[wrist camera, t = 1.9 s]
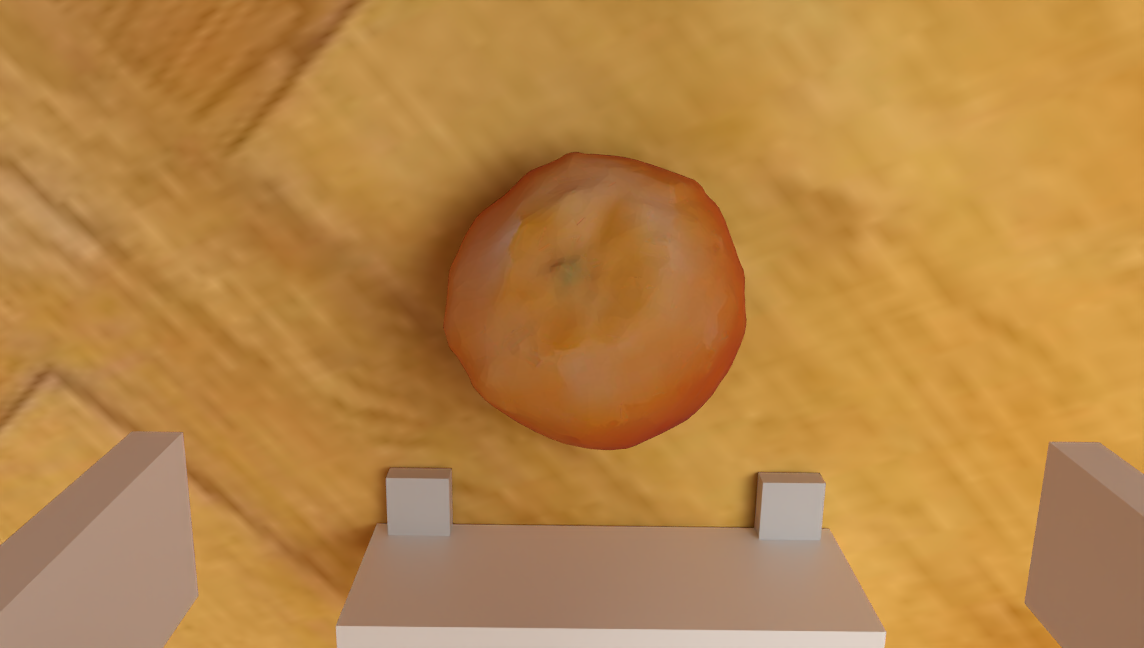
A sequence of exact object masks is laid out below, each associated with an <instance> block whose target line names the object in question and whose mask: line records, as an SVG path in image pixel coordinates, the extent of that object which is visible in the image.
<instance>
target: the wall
mask: <svg viewBox="0 0 1144 648" xmlns="http://www.w3.org/2000/svg"><path fill="white" fill-rule="evenodd" d="M825 485H826V483H825V481H824V480H823V478H822V476H821V475H820V473H775V472H758V484H757V497H756V511H755V525H754V528H722V527H638V526H554V525H470V524H453V513H452V468H390V469H389V472H388V474H387V476H386V498H387V524H386V523H377V525H376V527H375V530H374V532H373V535H372V537H371V540H370V542H369V545H368V547H367V550H366V552H365V555H364V557H363V560H362V562H361V565H360V567H359V570H358V572H357V575H356V577H355V580H354V582H353V584H352V587H351V589H350V592H349V594H348V597H347V599H346V602H345V604H344V607H343V609H342V612H341V614H340V617H339V619H338V622H337V624H336V638H337V648H884V646H885V638H886V631H885V629H884V627H883V625H882V624H881V622H880V620H879V618H878V616H877V614H876V613H875V611H874V609H873V607H872V605H871V603H870V602H869V600H868V598H867V596H866V594H865V593H864V591H863V589H862V587H861V585H860V583H859V582H858V580H857V578H856V576H855V574H854V573H853V571H852V569H851V567H850V565H849V563H848V562H847V560H846V558H845V556H844V554H843V553H842V551H841V549H840V547H839V545H838V543H837V542H836V540H835V538H834V536H833V534H832V533H831V531H830V529H822V518H823V507H824V496H825Z"/></svg>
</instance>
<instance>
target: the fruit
mask: <svg viewBox="0 0 1144 648" xmlns="http://www.w3.org/2000/svg"><path fill="white" fill-rule="evenodd" d="M744 290H745V277H744V271H743V268H742V266H741V264H740V261H739V259H738V256H737V253H736V249H735V247H734V244H733V242H732V239H731V236H730V233H729V230H728V228H727V225H726V222H725V219H724V217H723V215H722V213H721V211H720V209H719V207H718V206H717V205H716V204H715V202H714V201H712V200H711V199H710V198H709V197H708V196H707V194H706V193H705V191H704V189H703V188H702V186H701V185H700V184H699V183H698V182H696V181H695V180H693V179H690V178H687V177H685V176H682V175H679V174H677V173H674V172H671V171H668V170H666V169H663V168H660V167H657V166H654V165H651V164H648V163H644V162H641V161H638V160H634V159H630V158H625V157H619V156H610V155H599V154H584V153H579V152H573V153H568V154H566V155H564V156H563V157H561V158H560V159H557V160H555V161H553V162H551V163H548V164H546V165H544V166H541V167H538V168H536V169H533V170H531V171H530V172H528V173H527V174H526V175H525V176H524V177H523V178H522V179H521V180H520V181H519V182H518V183H517V184H516V185H515V186H514V187H513V188H512V189H511V190H509V191H508V192H507V193H506V194H505V195H504V196H503V197H501V198H500V199H499V200H497V201H496V202H494V203H493V204H492V205H490V206H489V207H488V208H487V209H485V210H484V211H483V212H482V213H480V214H479V215H478V216H477V217H476V219H475V220H474V222H473V223H472V225H471V227H470V228H469V230H468V232H467V233H466V235H465V237H464V239H463V242H462V244H461V246H460V248H459V251H458V253H457V255H456V257H455V259H454V261H453V263H452V266H451V268H450V272H449V280H448V292H447V302H446V310H445V316H444V324H443V328H444V331H445V335H446V338H447V341H448V345H449V348H450V349H451V350H452V352H453V353H454V354H455V355H456V356H457V357H458V359H459V361H460V362H461V364H462V366H463V367H464V369H465V371H466V372H467V374H468V376H469V378H470V380H471V383H472V385H473V387H474V388H475V389H476V391H477V392H478V393H479V394H480V395H481V396H482V397H483V398H484V399H485V400H486V401H487V402H488V403H489V404H491V405H492V406H494V407H495V408H497V409H498V410H500V411H501V412H503V413H504V414H506V415H507V416H509V417H510V418H512V419H514V420H515V421H517V422H518V423H520V424H522V425H524V426H526V427H528V428H530V429H531V430H533V431H535V432H537V433H540V434H542V435H544V436H546V437H548V438H551V439H553V440H556V441H559V442H562V443H565V444H569V445H574V446H578V447H583V448H589V449H598V450H616V449H626V448H630V447H633V446H635V445H638V444H640V443H642V442H644V441H646V440H648V439H651V438H653V437H655V436H657V435H659V434H661V433H663V432H665V431H667V430H669V429H671V428H673V427H675V426H677V425H679V424H681V423H682V422H684V421H686V420H687V419H689V418H690V417H691V416H692V415H693V414H695V413H696V412H697V411H698V410H699V409H700V408H701V407H702V406H703V405H704V404H705V402H706V401H707V400H708V399H709V398H710V397H711V396H712V395H713V393H714V392H715V390H716V388H717V387H718V385H719V384H720V382H721V381H722V380H723V378H724V377H725V375H726V374H727V373H728V371H729V369H730V367H731V365H732V363H733V361H734V359H735V356H736V354H737V352H738V349H739V347H740V344H741V342H742V339H743V337H744V334H745V328H746V313H745V294H744Z"/></svg>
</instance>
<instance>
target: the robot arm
mask: <svg viewBox="0 0 1144 648" xmlns="http://www.w3.org/2000/svg"><path fill="white" fill-rule="evenodd" d="M197 597H198V586H197V575H196V565H195V554H194V544H193V533H192V522H191V512H190V501H189V491H188V480H187V470H186V459H185V448H184V438H183V432H131V433H130V434H128V435H127V436H126V437H125V438H124V439H123V440H121V441H120V442H119V443H118V444H117V445H116V446H115V447H113V448H112V449H111V450H110V451H109V452H108V453H106V454H105V455H104V456H103V457H102V458H101V459H100V460H98V461H97V462H96V463H95V464H94V465H93V466H91V467H90V468H89V469H88V470H87V471H86V472H85V473H83V474H82V475H81V476H80V477H79V478H78V479H76V480H75V481H74V482H73V483H72V484H71V485H69V486H68V487H67V488H66V489H65V490H64V491H63V492H61V493H60V494H59V495H58V496H57V497H56V498H54V499H53V500H52V501H51V502H50V503H49V504H48V505H46V506H45V507H44V508H43V509H42V510H41V511H39V512H38V513H37V514H36V515H35V516H34V517H33V518H31V519H30V520H29V521H28V522H27V523H26V524H24V525H23V526H22V527H21V528H20V529H19V530H18V531H16V532H15V533H14V534H13V535H12V536H11V537H9V538H8V539H7V540H6V541H5V542H4V543H3V544H1V545H0V648H163V647H164V645H165V644H166V643H167V641H168V640H169V638H170V637H171V635H172V634H173V632H174V631H175V629H176V628H177V626H178V625H179V623H180V622H181V620H182V619H183V617H184V616H185V615H186V613H187V612H188V610H189V609H190V607H191V606H192V604H193V603H194V601H195V600H196V598H197ZM1025 604H1026V606H1027V607H1028V608H1029V609H1030V610H1031V611H1032V613H1033V614H1034V615H1035V616H1036V617H1037V619H1038V620H1039V621H1040V622H1041V623H1042V624H1043V626H1044V627H1045V628H1046V629H1047V630H1048V631H1049V633H1050V634H1051V635H1052V636H1053V637H1054V639H1055V640H1056V641H1057V642H1058V643H1059V644H1060V646H1061V647H1062V648H1144V474H1142V473H1141V472H1140V471H1138V470H1137V469H1135V468H1134V467H1133V466H1131V465H1130V464H1129V463H1127V462H1126V461H1124V460H1123V459H1122V458H1120V457H1119V456H1117V455H1116V454H1115V453H1113V452H1112V451H1110V450H1109V449H1108V448H1106V447H1105V446H1103V445H1102V444H1101V443H1099V442H1049V446H1048V453H1047V459H1046V466H1045V472H1044V479H1043V486H1042V492H1041V499H1040V505H1039V512H1038V518H1037V525H1036V531H1035V538H1034V544H1033V551H1032V557H1031V564H1030V570H1029V577H1028V583H1027V590H1026V597H1025Z"/></svg>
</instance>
